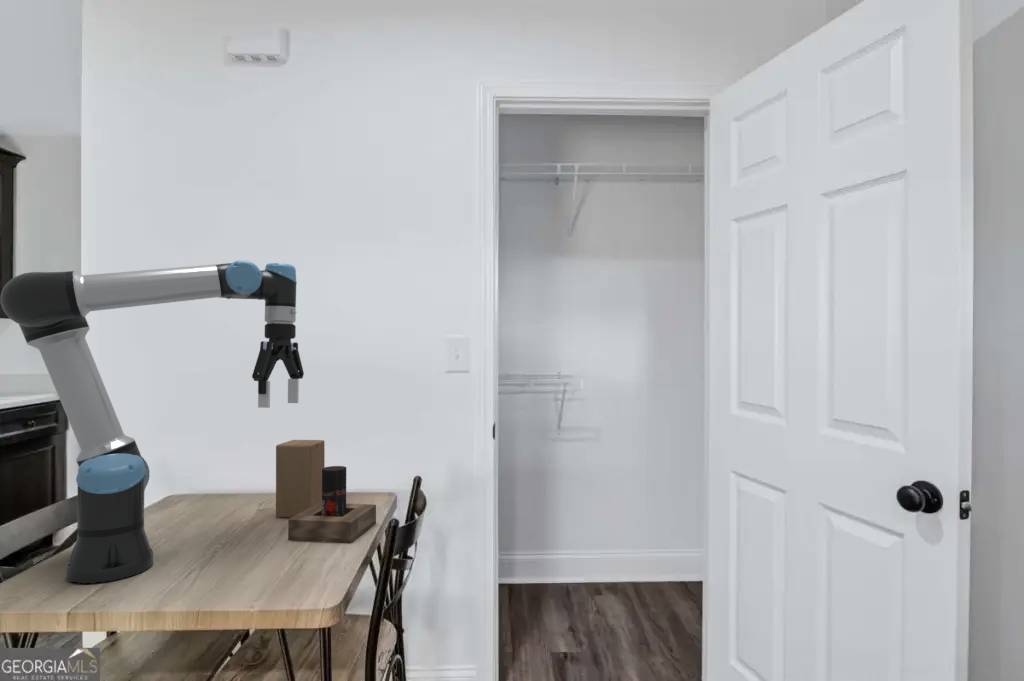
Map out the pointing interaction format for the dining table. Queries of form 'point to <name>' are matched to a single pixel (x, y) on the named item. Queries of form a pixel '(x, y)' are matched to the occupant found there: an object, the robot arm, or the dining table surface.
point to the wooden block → (298, 476)
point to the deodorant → (334, 491)
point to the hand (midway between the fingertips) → (279, 405)
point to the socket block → (332, 524)
